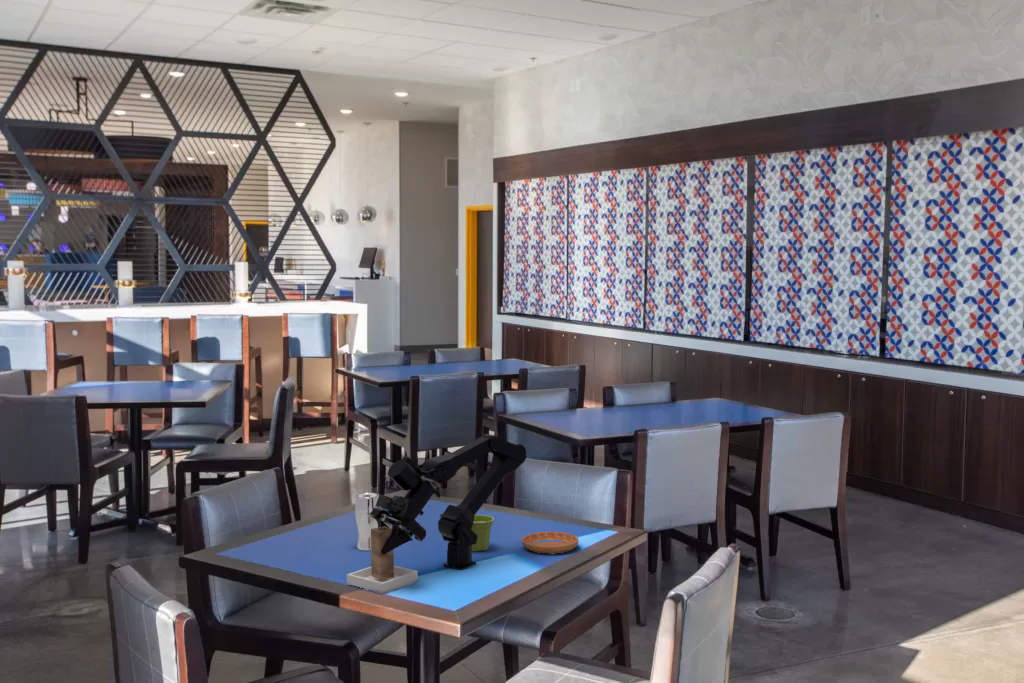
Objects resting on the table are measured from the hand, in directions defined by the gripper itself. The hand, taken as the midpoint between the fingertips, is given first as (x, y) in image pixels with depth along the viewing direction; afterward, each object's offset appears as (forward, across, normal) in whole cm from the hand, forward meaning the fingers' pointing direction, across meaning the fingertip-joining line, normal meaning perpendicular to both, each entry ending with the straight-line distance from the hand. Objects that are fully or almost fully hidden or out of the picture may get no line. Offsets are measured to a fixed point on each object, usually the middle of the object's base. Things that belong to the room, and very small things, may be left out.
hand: (377, 551), depth 237 cm
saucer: (-32, +2, +45) cm, 55 cm away
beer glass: (-4, -30, +16) cm, 35 cm away
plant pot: (-21, -10, +33) cm, 40 cm away
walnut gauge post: (+4, 0, +6) cm, 7 cm away
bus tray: (+5, 0, +7) cm, 8 cm away
